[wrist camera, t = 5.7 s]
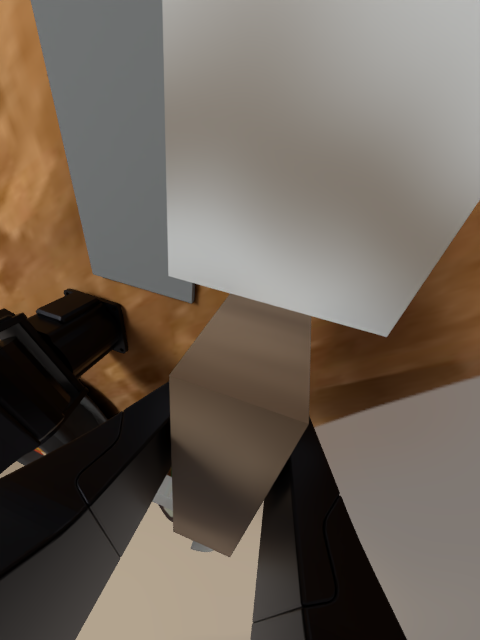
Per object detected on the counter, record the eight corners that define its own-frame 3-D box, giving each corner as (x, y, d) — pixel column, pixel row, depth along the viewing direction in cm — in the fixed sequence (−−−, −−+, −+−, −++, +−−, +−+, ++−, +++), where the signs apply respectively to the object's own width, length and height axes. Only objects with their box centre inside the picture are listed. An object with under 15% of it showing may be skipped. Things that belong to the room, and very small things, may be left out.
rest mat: (194, 300, 20) (191, 303, 19) (97, 272, 21) (93, 274, 21) (221, -271, 7) (216, -297, 7) (-14, -244, 9) (-30, -265, 8)
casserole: (0, 372, 40) (-66, 411, 33) (14, 320, 30) (-76, 361, 23) (111, 453, 45) (75, 502, 38) (155, 432, 35) (116, 494, 28)
